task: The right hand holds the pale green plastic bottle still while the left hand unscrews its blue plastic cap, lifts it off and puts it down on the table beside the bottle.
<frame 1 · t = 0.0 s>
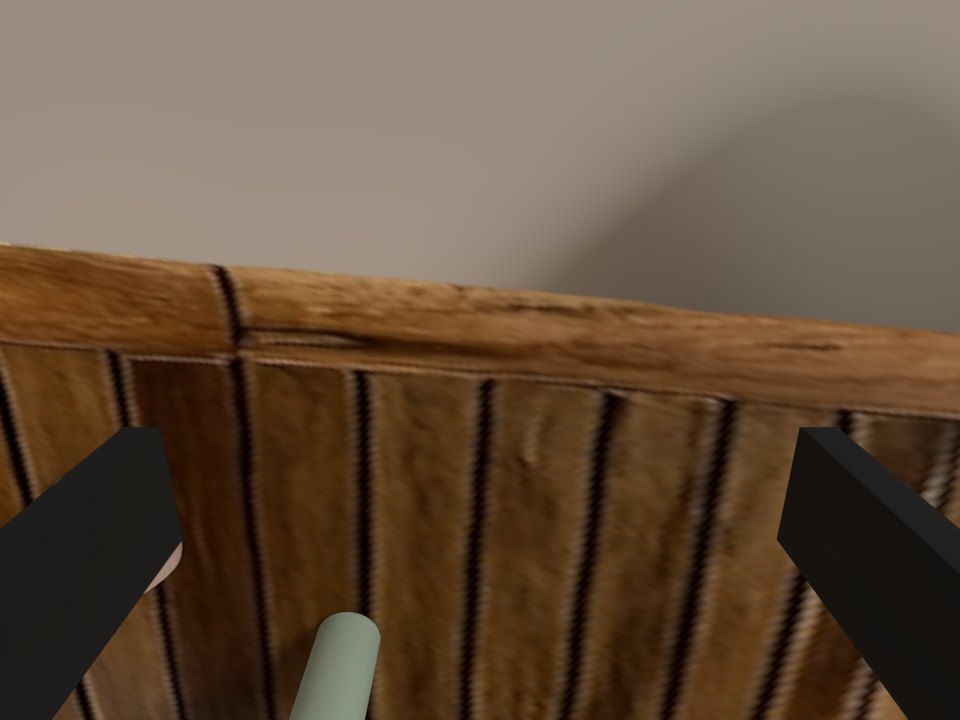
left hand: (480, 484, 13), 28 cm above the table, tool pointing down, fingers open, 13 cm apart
bottle: (349, 636, 50), on the table
anatomical model: (106, 536, 47), on the table
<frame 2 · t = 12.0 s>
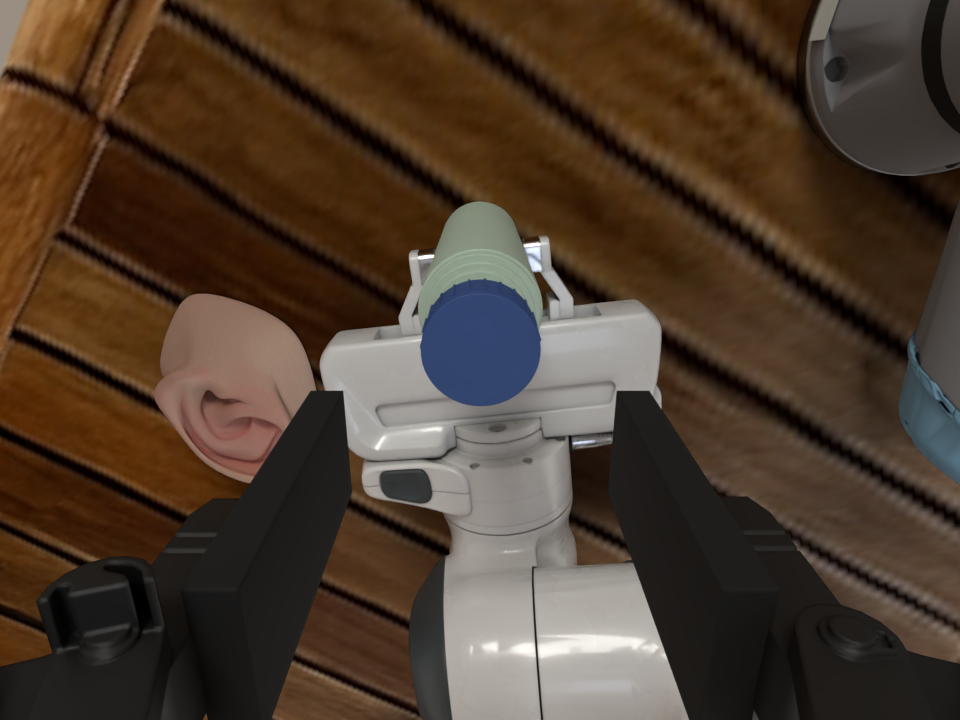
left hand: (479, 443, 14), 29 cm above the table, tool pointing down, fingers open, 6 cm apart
right hand: (477, 244, 35), fingers closed on bottle, 5 cm apart
bottle: (480, 240, 42), on the table, touching right hand
cap: (480, 349, 21), point 22 cm above the table, screwed on, not yet turned
anatomical model: (242, 381, 45), on the table
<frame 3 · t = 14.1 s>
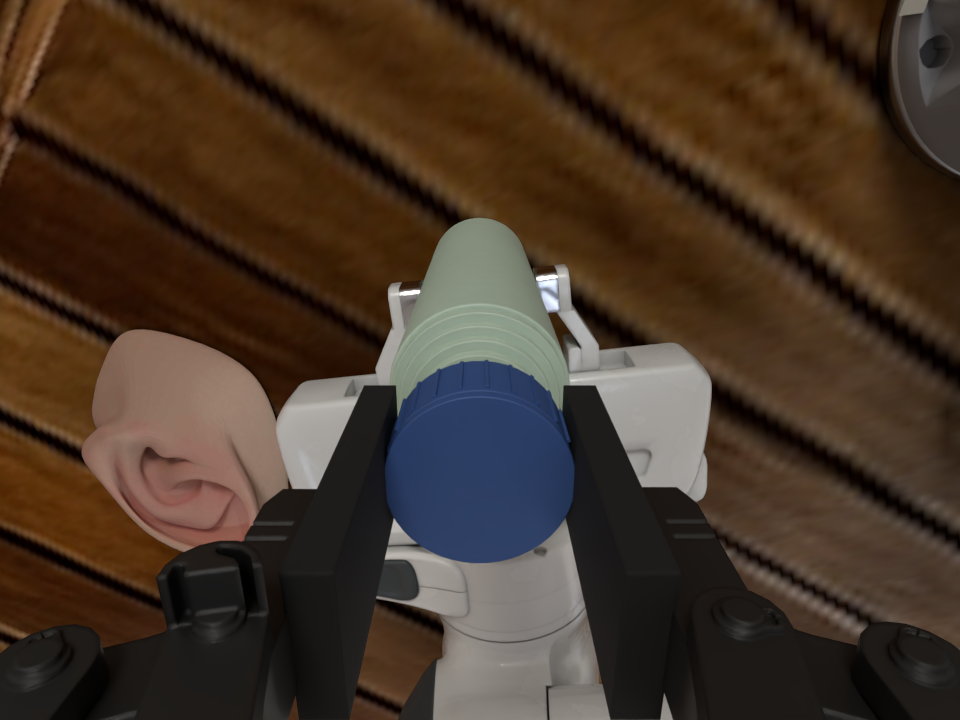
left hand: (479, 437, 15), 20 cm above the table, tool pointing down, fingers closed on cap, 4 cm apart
bottle: (479, 264, 34), on the table, touching right hand
cap: (479, 477, 13), point 22 cm above the table, screwed on, not yet turned, touching left hand
anatomical model: (193, 432, 37), on the table
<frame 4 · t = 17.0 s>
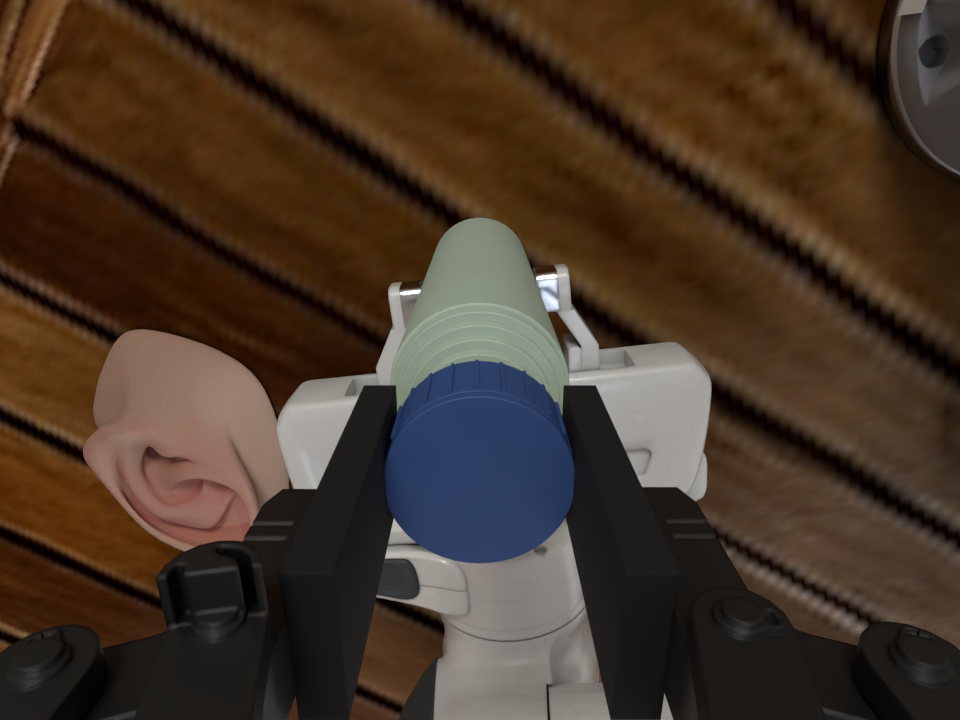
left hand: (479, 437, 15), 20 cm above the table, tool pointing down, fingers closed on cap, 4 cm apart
bottle: (479, 264, 34), on the table, touching right hand
cap: (479, 477, 13), point 22 cm above the table, turned 84° so far, risen 0.1 cm, still on its thread, touching left hand
anatomical model: (194, 432, 38), on the table
when the left hand's fingers open (1 cm above the table, at t = 34.9 s): cap drops 1 cm, point 2 cm above the table.
when the right hand's fingers open (7 cm above the table, at t = 36.2 s): bottle stays where it is, on the table.
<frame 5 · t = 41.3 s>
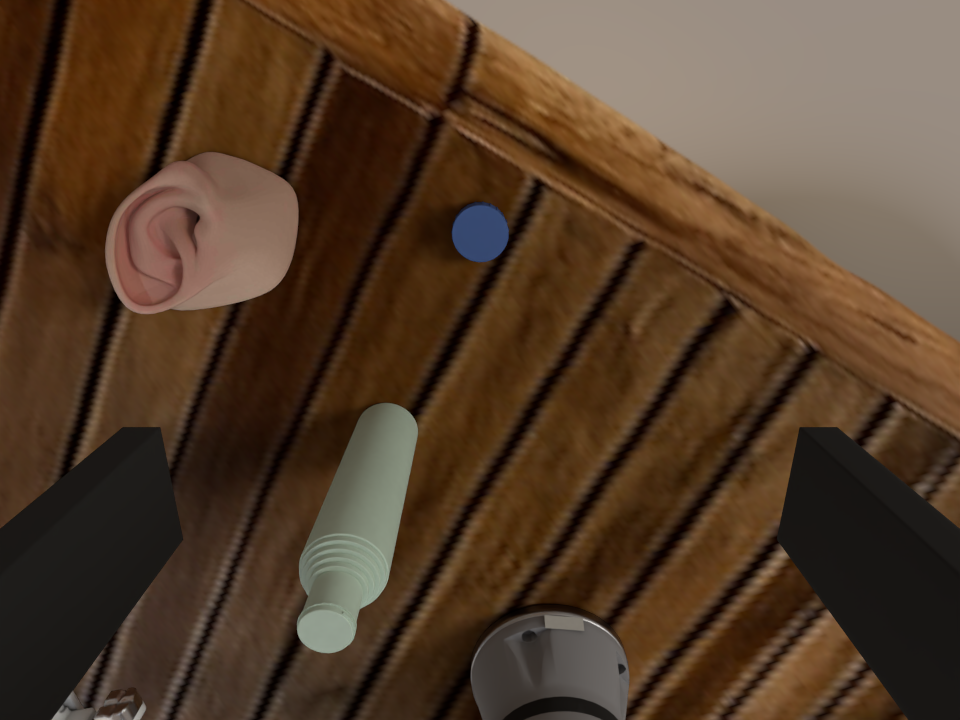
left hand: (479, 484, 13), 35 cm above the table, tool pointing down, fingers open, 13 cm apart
bottle: (387, 430, 51), on the table
cap: (480, 233, 44), point 2 cm above the table, off its thread
anatomical model: (214, 233, 46), on the table
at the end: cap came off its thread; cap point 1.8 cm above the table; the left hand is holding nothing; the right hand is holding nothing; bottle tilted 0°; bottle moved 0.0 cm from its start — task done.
